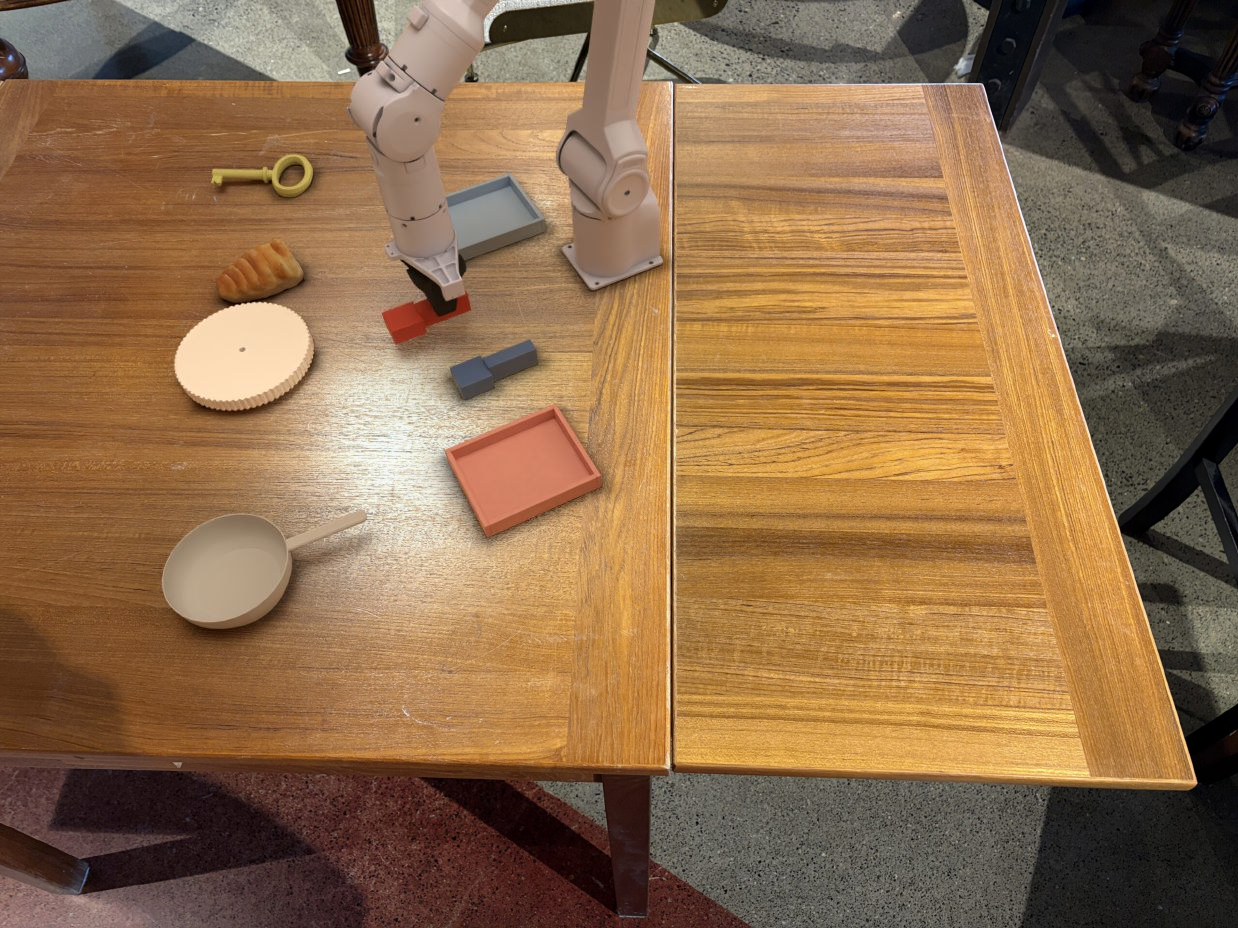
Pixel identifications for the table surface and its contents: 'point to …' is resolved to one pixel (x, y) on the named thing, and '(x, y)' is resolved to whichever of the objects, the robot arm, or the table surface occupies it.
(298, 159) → the key
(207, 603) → the beige frying pan
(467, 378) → the stepped square rod
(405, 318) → the red stepped bar
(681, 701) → the table surface
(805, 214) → the table surface
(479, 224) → the blue tray
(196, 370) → the cream gear wheel
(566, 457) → the red tray
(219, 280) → the pastry
